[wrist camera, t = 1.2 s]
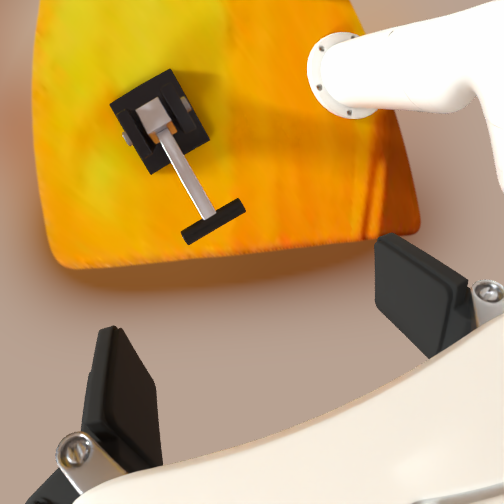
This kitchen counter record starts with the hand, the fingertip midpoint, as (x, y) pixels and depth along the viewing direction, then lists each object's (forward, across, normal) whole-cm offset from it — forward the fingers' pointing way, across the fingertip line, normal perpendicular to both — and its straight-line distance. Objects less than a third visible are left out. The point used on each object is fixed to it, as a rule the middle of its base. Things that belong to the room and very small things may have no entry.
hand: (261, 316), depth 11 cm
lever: (+18, +1, -3) cm, 18 cm away
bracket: (+30, +2, -7) cm, 31 cm away
